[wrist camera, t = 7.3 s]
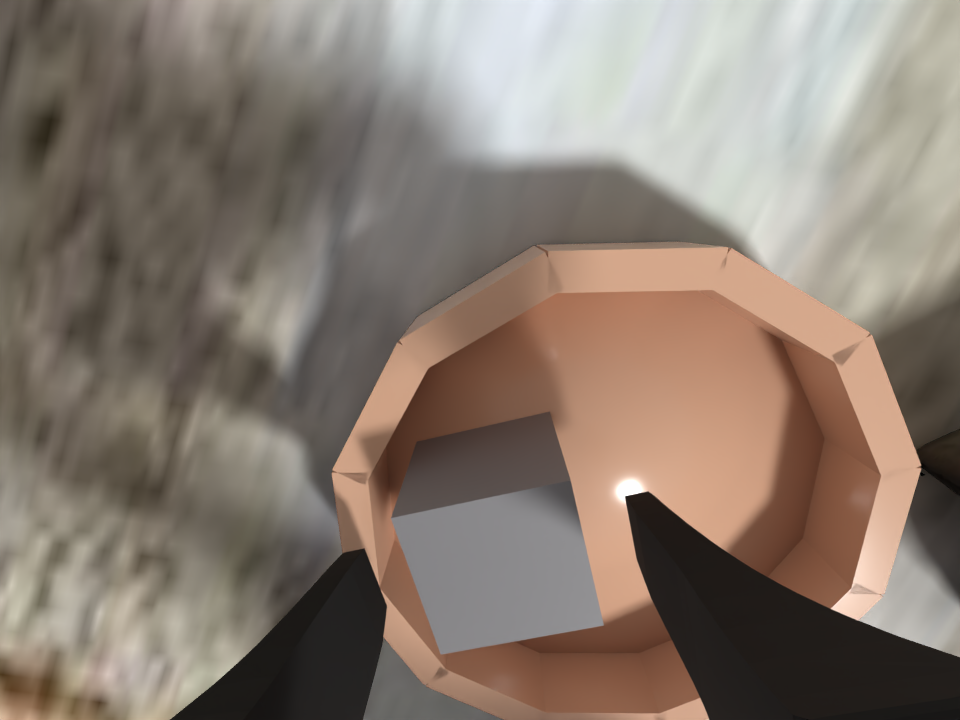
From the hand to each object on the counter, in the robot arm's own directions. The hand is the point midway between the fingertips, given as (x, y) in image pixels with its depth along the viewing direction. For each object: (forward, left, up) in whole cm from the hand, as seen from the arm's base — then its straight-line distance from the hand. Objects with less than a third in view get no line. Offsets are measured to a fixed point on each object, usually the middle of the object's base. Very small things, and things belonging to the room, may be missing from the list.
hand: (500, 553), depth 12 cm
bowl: (-3, -2, -4) cm, 5 cm away
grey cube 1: (0, 0, -3) cm, 3 cm away
